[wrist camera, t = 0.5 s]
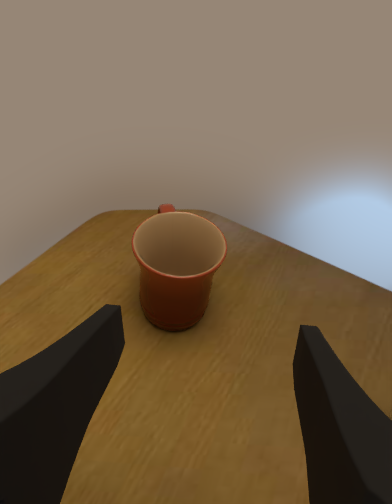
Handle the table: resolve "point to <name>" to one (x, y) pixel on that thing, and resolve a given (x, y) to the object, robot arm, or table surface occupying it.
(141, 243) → the mug
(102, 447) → the table surface
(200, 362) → the table surface
